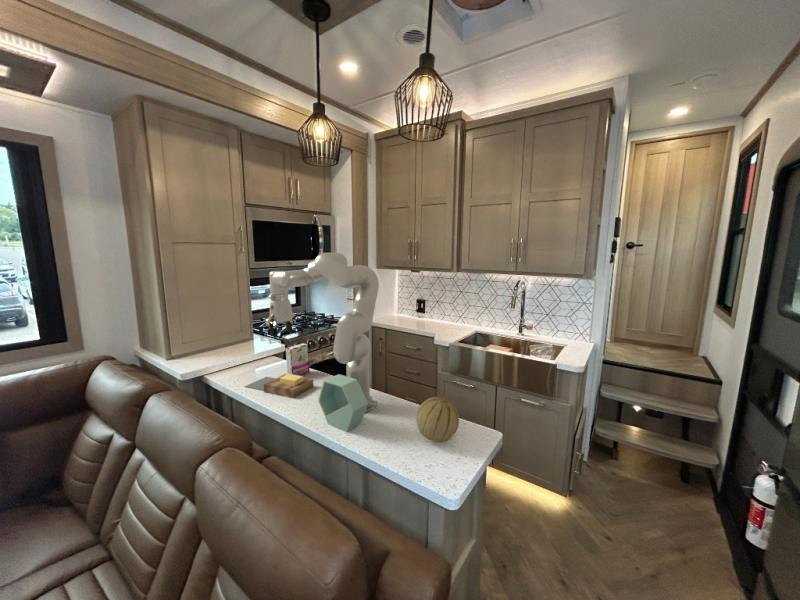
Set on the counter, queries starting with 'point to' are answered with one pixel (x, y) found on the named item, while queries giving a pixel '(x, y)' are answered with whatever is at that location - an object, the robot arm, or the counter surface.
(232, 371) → the counter surface
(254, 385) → the mat
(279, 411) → the counter surface
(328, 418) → the planter
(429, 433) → the cantaloupe
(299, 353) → the candy bar box
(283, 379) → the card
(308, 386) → the block
